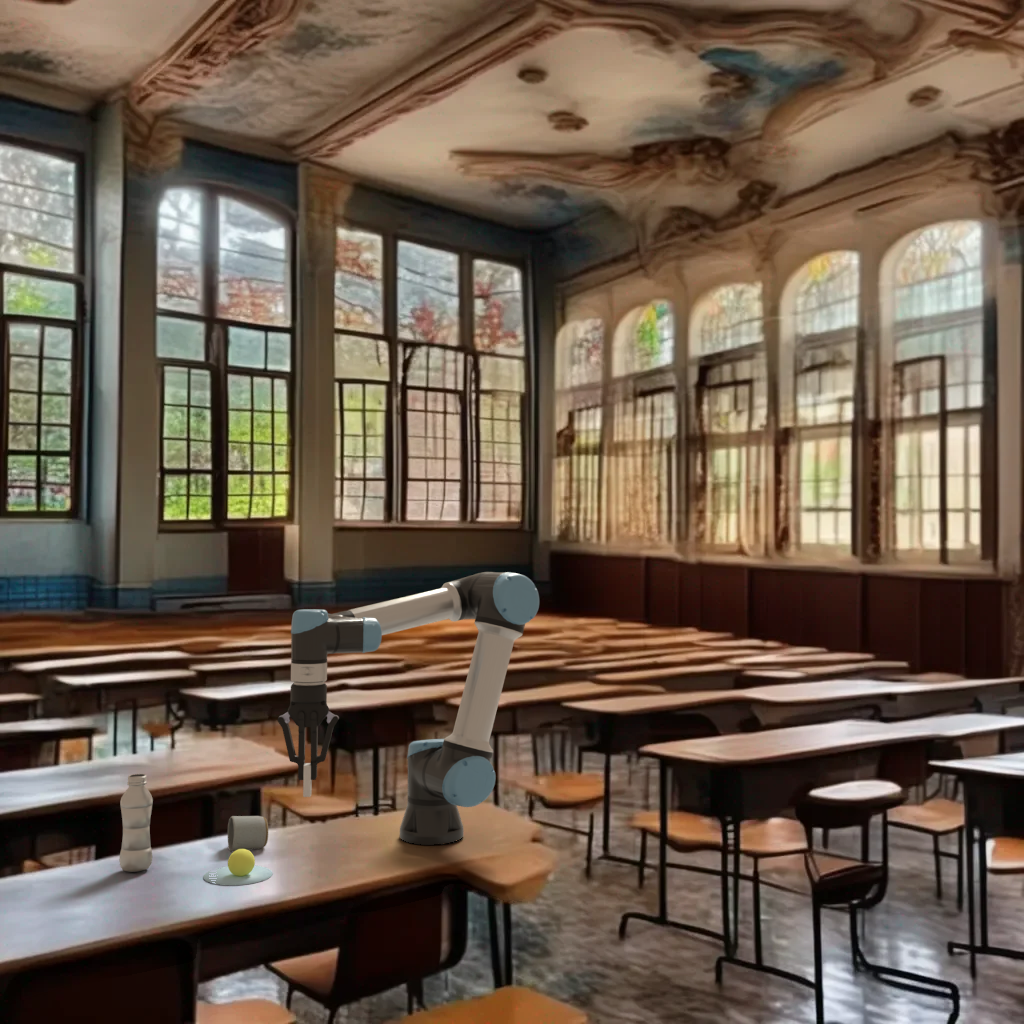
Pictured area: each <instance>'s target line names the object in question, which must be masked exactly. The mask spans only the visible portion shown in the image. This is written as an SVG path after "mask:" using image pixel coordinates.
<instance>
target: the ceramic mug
mask: <svg viewBox="0 0 1024 1024" xmlns="http://www.w3.org/2000/svg"><path fill="white" fill-rule="evenodd" d="M268 840H269V823H268V819H267V818H266V817H265V816H261V815H242V816H241V815H238V816H237V815H232V816H230V818H229V819H228V824H227V846H228V850H229V852H232V851H233V852H234V851H236V850H238V849H246V850H249V851H250V850H251V849H252V850H260V849H262V848H265V847H266V846H267V844H268Z"/></svg>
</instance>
